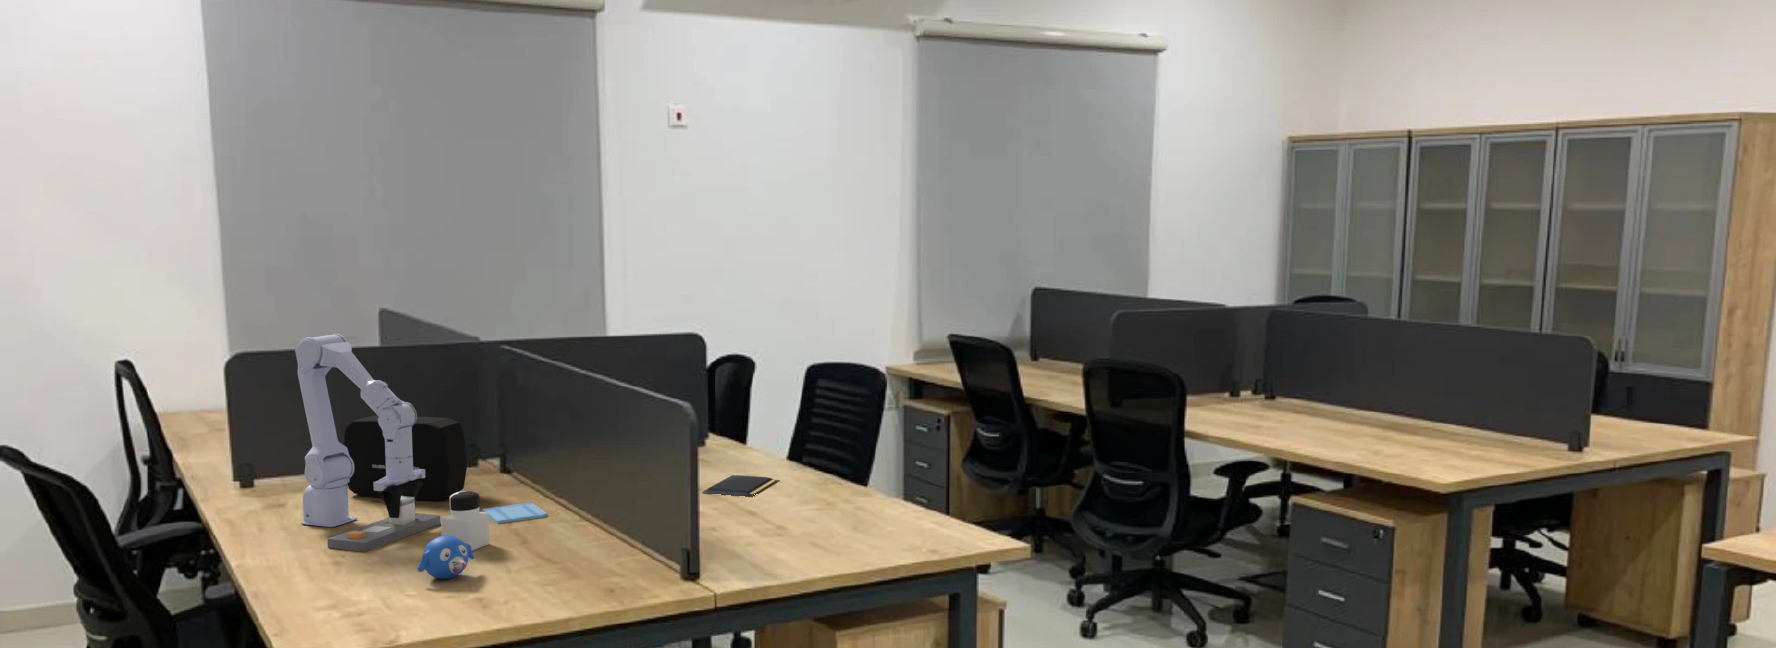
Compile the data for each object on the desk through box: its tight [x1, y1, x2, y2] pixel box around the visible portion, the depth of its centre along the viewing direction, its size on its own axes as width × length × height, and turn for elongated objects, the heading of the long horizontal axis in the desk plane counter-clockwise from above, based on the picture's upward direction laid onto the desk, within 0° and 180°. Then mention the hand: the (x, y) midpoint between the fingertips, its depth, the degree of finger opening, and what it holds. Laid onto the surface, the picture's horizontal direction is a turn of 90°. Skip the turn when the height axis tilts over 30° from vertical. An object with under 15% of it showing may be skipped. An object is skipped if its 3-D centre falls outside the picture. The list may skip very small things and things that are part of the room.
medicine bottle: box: [440, 490, 490, 552], centre depth 253 cm, size 7×7×12 cm
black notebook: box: [701, 474, 781, 498], centre depth 310 cm, size 20×2×15 cm
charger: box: [387, 496, 416, 525], centre depth 267 cm, size 4×4×6 cm
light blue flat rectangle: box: [481, 502, 548, 525], centre depth 282 cm, size 14×12×1 cm
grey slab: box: [327, 512, 441, 553], centre depth 263 cm, size 24×10×3 cm, turn 162°
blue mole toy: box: [417, 535, 476, 580], centre depth 231 cm, size 12×12×8 cm
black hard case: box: [343, 415, 469, 501], centre depth 301 cm, size 30×12×20 cm, turn 76°
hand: (401, 515), depth 267 cm, fingers open, 4 cm apart
